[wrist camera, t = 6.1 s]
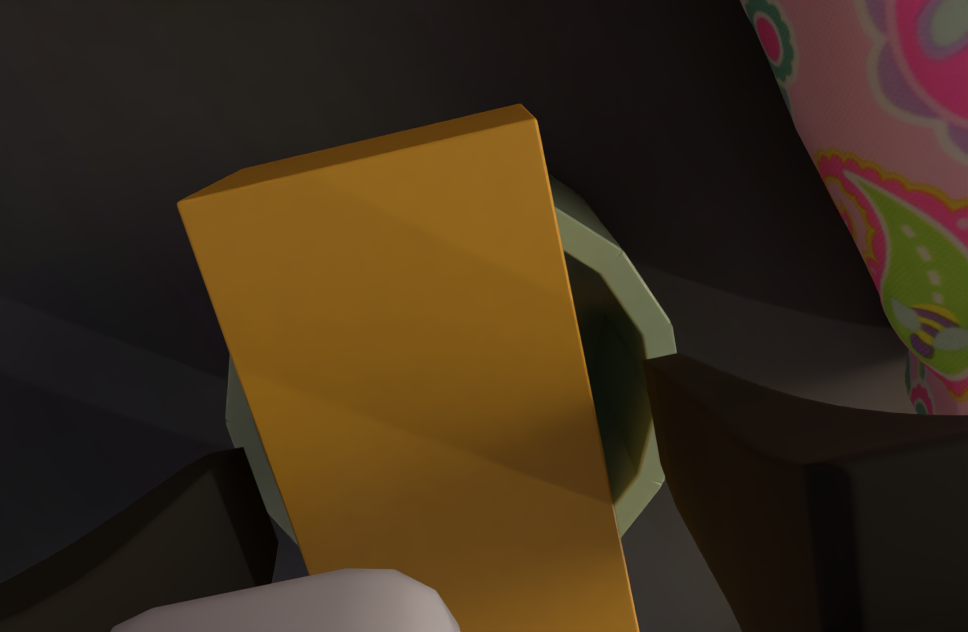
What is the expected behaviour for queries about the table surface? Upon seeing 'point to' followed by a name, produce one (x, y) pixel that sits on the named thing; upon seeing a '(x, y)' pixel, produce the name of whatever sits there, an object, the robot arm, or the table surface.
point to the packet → (422, 368)
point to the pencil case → (890, 158)
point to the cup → (608, 355)
